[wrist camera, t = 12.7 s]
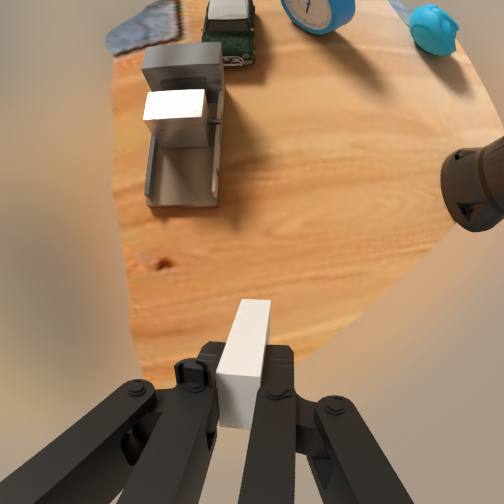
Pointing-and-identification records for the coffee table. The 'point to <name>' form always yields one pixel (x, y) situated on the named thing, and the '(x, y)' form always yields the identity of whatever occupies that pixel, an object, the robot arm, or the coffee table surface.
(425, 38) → the blue round piece
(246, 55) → the miniature car
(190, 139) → the carriage
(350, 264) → the coffee table surface
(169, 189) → the frame
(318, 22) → the alarm clock
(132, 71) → the coffee table surface
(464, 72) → the coffee table surface
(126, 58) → the coffee table surface
